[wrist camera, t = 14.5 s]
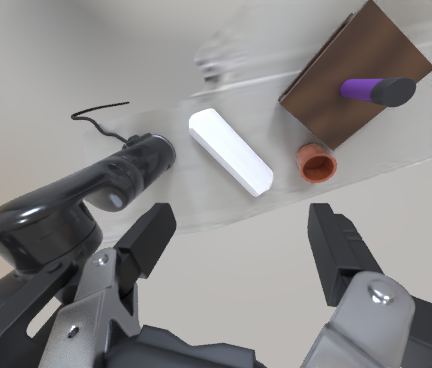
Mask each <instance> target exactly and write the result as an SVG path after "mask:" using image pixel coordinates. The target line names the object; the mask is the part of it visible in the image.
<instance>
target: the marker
mask: <svg viewBox="0 0 432 368" xmlns="http://www.w3.org/2000/svg"><path fill="white" fill-rule="evenodd" d="M415 90H416V83H415V81H414V80H413V79H411V78H408V77H392V78H386V79H350V80H347V81H345V82H344V83H343V84H342V86H341V88H340V93H341V95H342V96H344V97H349V98H354V99H359V100H363V101H368V102H373V103H374V104H377V105H382V106H386V107H397V106H400V105H402V104H404V103H406V102H407V101H408V100H409V99H410V98H411V97H412V96H413V95H414V93H415Z"/></svg>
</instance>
